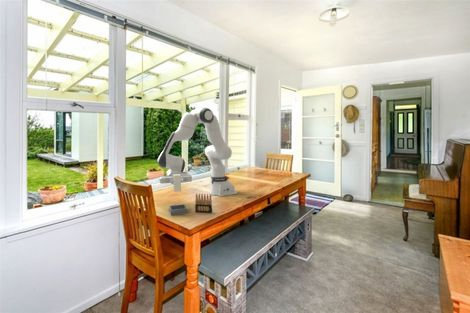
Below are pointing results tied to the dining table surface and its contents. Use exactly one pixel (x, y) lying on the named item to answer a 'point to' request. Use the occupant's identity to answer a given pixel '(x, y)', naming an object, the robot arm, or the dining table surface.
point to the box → (178, 209)
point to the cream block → (177, 182)
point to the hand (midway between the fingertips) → (177, 181)
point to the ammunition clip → (203, 204)
